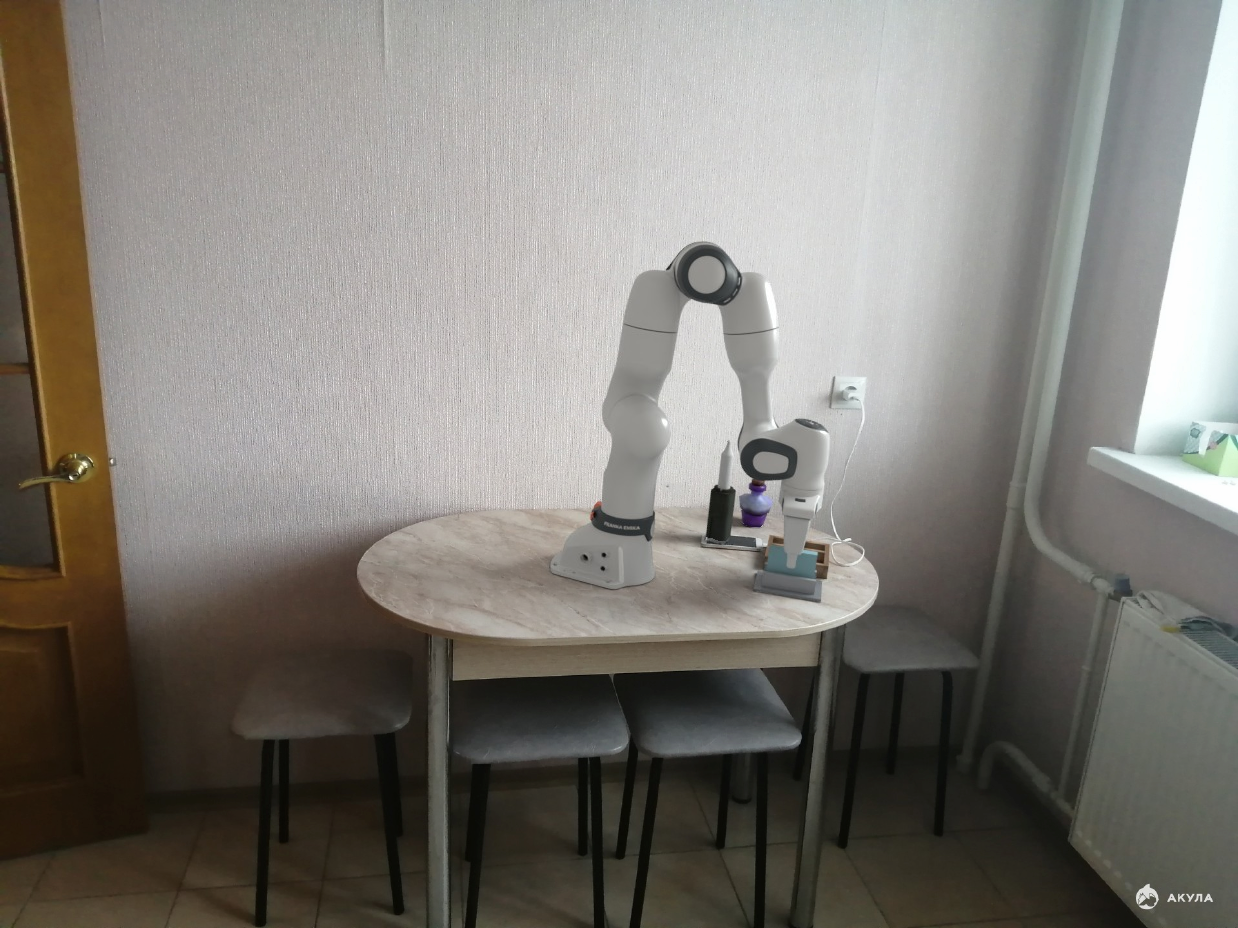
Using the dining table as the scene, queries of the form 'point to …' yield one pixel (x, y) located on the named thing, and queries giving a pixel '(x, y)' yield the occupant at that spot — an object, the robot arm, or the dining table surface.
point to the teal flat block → (802, 568)
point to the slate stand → (788, 585)
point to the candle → (722, 500)
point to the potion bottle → (755, 504)
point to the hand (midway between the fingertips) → (791, 558)
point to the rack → (821, 548)
